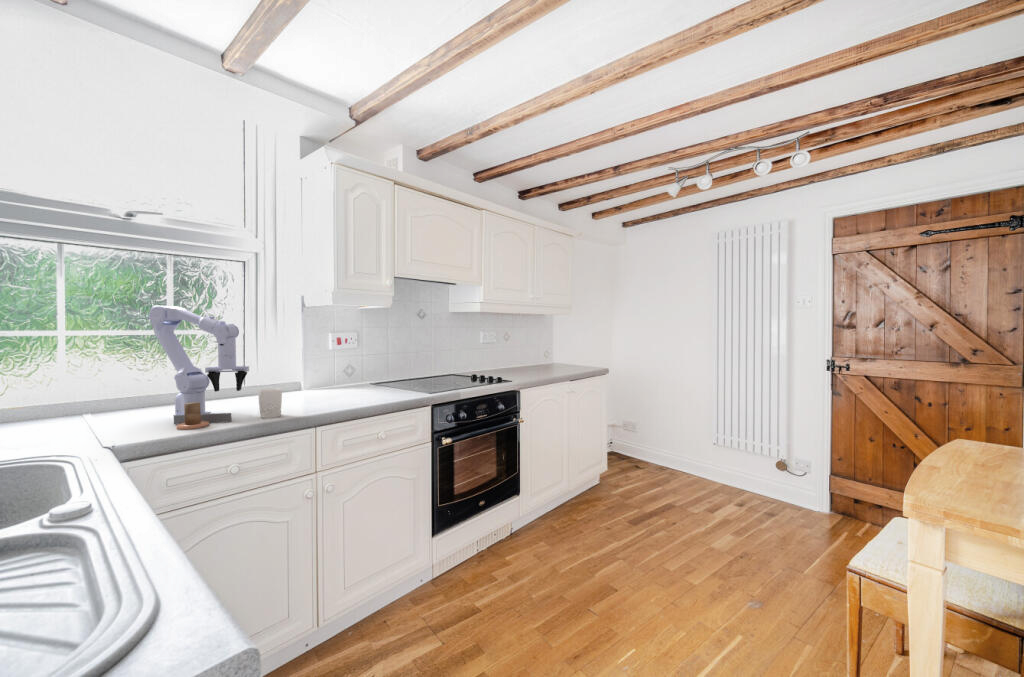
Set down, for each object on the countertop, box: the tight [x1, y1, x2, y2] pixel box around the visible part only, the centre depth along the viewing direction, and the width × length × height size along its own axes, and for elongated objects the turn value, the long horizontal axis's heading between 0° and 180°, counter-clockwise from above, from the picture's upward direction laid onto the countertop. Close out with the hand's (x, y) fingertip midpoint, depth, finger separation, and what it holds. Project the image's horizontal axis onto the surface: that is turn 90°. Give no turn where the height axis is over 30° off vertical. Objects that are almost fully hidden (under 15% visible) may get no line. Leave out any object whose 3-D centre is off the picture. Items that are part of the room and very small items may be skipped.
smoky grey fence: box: [173, 412, 232, 425], centre depth 155 cm, size 18×1×3 cm, turn 100°
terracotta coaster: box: [175, 421, 210, 431], centre depth 149 cm, size 9×9×1 cm
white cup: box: [257, 388, 283, 419], centre depth 165 cm, size 8×8×10 cm
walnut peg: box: [184, 402, 201, 425], centre depth 148 cm, size 4×4×7 cm
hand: (227, 390), depth 168 cm, fingers open, 7 cm apart
